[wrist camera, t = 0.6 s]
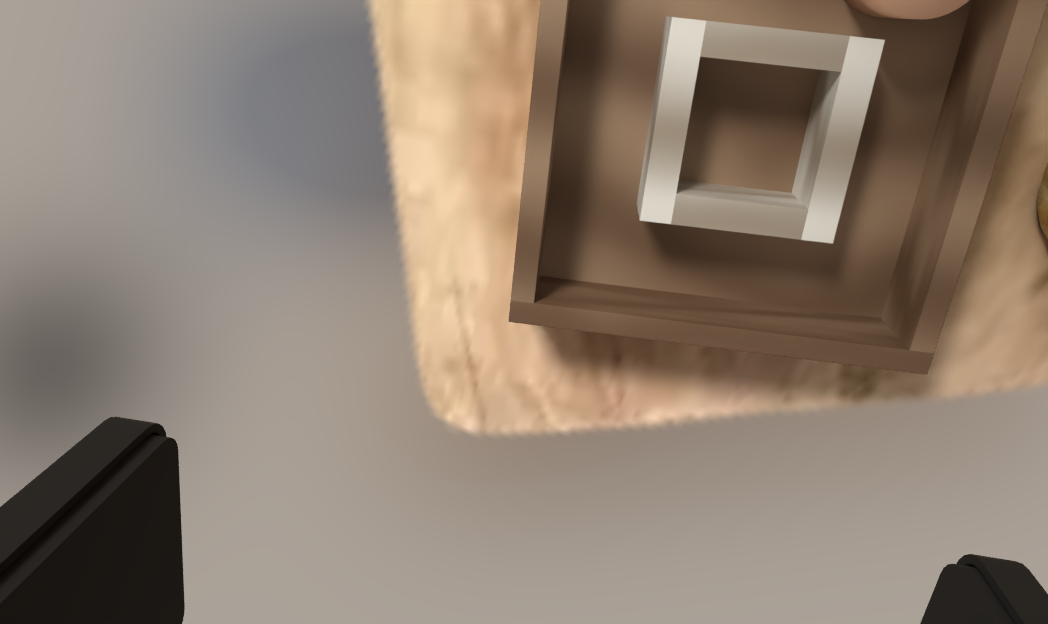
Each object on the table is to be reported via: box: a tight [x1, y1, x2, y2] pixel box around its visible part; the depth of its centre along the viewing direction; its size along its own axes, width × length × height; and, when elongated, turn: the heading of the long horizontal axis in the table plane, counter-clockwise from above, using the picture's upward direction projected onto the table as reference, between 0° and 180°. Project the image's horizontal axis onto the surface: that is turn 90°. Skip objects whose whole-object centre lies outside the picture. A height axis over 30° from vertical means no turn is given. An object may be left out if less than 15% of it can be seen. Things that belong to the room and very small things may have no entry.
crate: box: [509, 0, 1048, 374], centre depth 32 cm, size 20×18×4 cm
